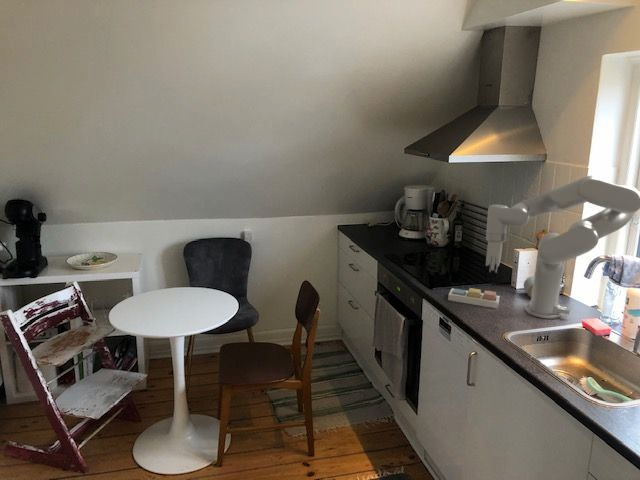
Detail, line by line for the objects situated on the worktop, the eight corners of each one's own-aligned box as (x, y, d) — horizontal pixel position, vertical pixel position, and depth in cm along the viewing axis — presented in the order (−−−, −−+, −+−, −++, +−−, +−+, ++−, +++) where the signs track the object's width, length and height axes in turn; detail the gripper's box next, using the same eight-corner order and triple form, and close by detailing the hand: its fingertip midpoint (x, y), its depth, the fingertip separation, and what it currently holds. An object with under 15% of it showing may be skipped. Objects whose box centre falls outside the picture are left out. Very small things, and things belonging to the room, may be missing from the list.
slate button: (464, 297, 210) (465, 290, 210) (463, 300, 206) (463, 293, 206) (453, 295, 212) (454, 288, 211) (452, 298, 208) (452, 291, 207)
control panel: (499, 301, 207) (499, 296, 206) (497, 308, 200) (498, 302, 199) (451, 293, 214) (451, 288, 214) (447, 300, 207) (448, 294, 206)
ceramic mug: (527, 299, 210) (530, 282, 208) (522, 292, 218) (524, 275, 216) (553, 301, 209) (556, 284, 207) (547, 294, 217) (550, 277, 215)
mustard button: (480, 296, 208) (480, 289, 207) (478, 300, 204) (479, 293, 203) (469, 294, 209) (469, 288, 209) (467, 298, 206) (468, 291, 205)
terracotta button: (495, 299, 205) (496, 292, 205) (494, 302, 202) (495, 295, 201) (484, 297, 207) (485, 290, 206) (482, 300, 203) (483, 293, 202)
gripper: (488, 231, 206) (484, 274, 210) (483, 240, 192) (480, 285, 197) (507, 233, 203) (503, 277, 207) (504, 241, 190) (500, 288, 194)
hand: (492, 281), depth 202 cm, fingers closed
